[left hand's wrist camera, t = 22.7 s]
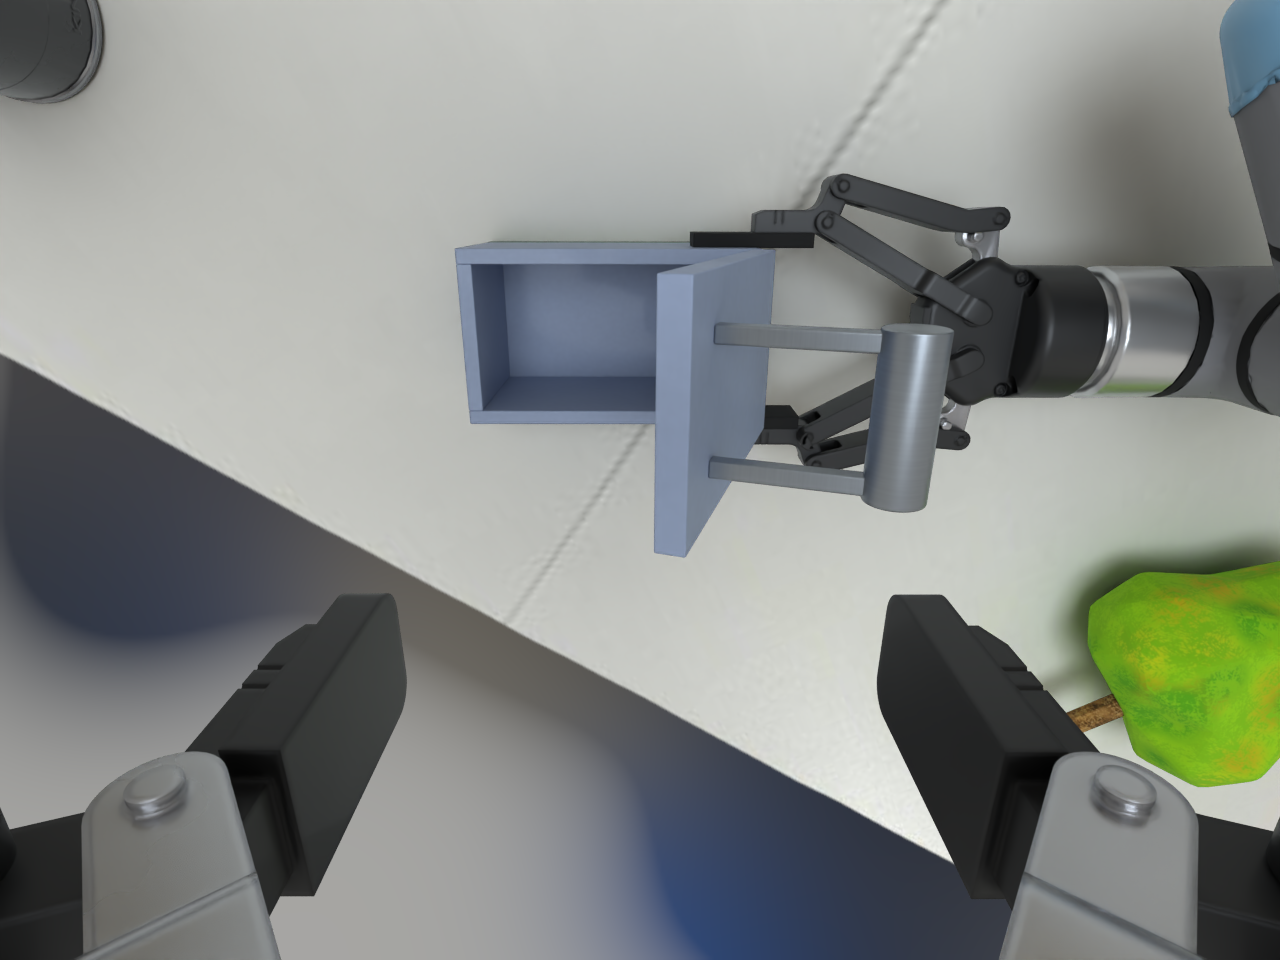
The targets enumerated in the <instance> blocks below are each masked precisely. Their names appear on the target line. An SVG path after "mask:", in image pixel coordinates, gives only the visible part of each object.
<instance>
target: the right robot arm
mask: <svg viewBox="0 0 1280 960" xmlns="http://www.w3.org/2000/svg"><path fill="white" fill-rule="evenodd" d="M1220 42H1221V48H1222V55H1223V62H1224V69H1225V76H1226V83H1227V89H1228V96H1229V103H1230V105H1229V107H1228V108H1229V113H1230V115H1231V117H1234V119H1235V123H1236V127H1237V130H1238V134H1239V138H1240V141H1241V145H1242V149H1243V152H1244V156H1245V160H1246V163H1247V167H1248V171H1249V175H1250V178H1251V182H1252V186H1253V189H1254V193H1255V197H1256V200H1257V204H1258V208H1259V211H1260V215H1261V219H1262V222H1263V226H1264V230H1265V233H1266V237H1267V241H1268V245H1269V249H1270V254H1271V259H1272V263H1273V266H1227V267H1173V266H1090V267H1088V268H1084V267H1081V266H1038V265H1009V264H1007V263H1005V262H1004V261H1002V260H1001V259H999V258H997V257H998V246H999V234H1000V230H1002V229H1004V228H1005V227H1006V226H1007V225H1008V224H1009V222H1010V218H1011V217H1010V212H1009V210H1008V209H1006V208H1005V207H977V208H966V209H964V208H960V207H957V206H954V205H950V204H947V203H944V202H940V201H937V200H934V199H930V198H927V197H923V196H920V195H917V194H913V193H910V192H907V191H903V190H900V189H896V188H893V187H890V186H886V185H883V184H880V183H876V182H873V181H870V180H866V179H863V178H859V177H856V176H853V175H849V174H839V175H834V176H830V177H827V178H826V179H825V180H824V181H823V183H822V185H821V192H820V194H819V197H818V199H817V201H816V203H815V204H814V205H813V206H812V207H811V208H810V209H807V210H760V211H758V212H756V213H753V214H752V221H751V232H690V246H692V247H697V248H813V247H814V236H815V234H816V235H818V236H819V237H821V238H822V239H824V240H826V241H827V242H829V243H831V244H832V245H834V246H836V247H837V248H839V249H841V250H842V251H844V252H846V253H847V254H849V255H851V256H852V257H854V258H855V259H857V260H859V261H860V262H862V263H864V264H865V265H867V266H869V267H870V268H872V269H874V270H875V271H877V272H879V273H880V274H882V275H884V276H885V277H887V278H888V279H890V280H892V281H893V282H895V283H897V284H898V285H899V286H900V287H902V288H903V289H905V290H907V291H908V292H910V293H912V294H913V295H915V296H917V297H918V298H917V300H916V302H915V303H912V304H911V312H910V322H911V324H928V325H936V326H943V327H947V328H950V329H952V330H954V336H953V343H952V349H951V355H950V361H949V368H948V374H947V380H946V386H945V393H944V395H945V396H946V397H947V398H948V399H949V401H948V403H947V405H946V406H945V407H943V408H942V411H941V418H940V424H939V430H938V436H937V443H936V448H939V449H950V450H962V449H965V448H966V447H967V446H968V445H969V443H970V436H969V434H968V433H967V432H965V431H964V430H965V426H966V422H967V418H968V415H969V411H970V407H971V405H974V404H977V403H979V402H981V401H983V400H985V399H988V398H994V397H1002V398H1060V397H1065V396H1068V395H1070V396H1072V397H1076V398H1115V397H1186V398H1212V399H1220V400H1225V401H1230V402H1233V403H1236V404H1239V405H1243V406H1246V407H1249V408H1252V409H1255V410H1258V411H1261V412H1264V413H1267V414H1271V415H1276V416H1279V417H1280V0H1235V1H1234V2H1233V4H1232V5H1231V6H1230V7H1229V9H1228V10H1227V12H1226V14H1225V15H1224V18H1223V20H1222V23H1221V27H1220ZM845 204H848V205H851V206H854V207H858V208H861V209H865V210H868V211H871V212H875V213H878V214H882V215H885V216H889V217H892V218H895V219H899V220H902V221H906V222H909V223H913V224H916V225H919V226H923V227H926V228H930V229H933V230H937V231H944V232H955V241H956V243H957V244H958V245H959V246H962V247H967V248H968V249H970V250H971V252H972V257H973V258H972V259H970V260H969V261H967V262H966V263H964V264H963V265H961V266H960V267H958V268H957V269H955V270H954V271H952V272H951V273H949V274H948V275H946V276H945V277H941V276H940V275H938V274H936V273H935V272H932V271H930V270H928V269H926V268H924V267H923V266H921V265H920V264H918V263H916V262H915V261H913V260H911V259H910V258H908V257H907V256H905V255H903V254H902V253H900V252H898V251H897V250H895V249H894V248H892V247H890V246H889V245H887V244H885V243H884V242H882V241H881V240H879V239H877V238H876V237H874V236H873V235H871V234H869V233H868V232H866V231H864V230H863V229H861V228H860V227H858V226H856V225H855V224H853V223H851V222H850V221H848V220H847V219H845V218H843V217H842V216H840V214H841V212H842V210H843V208H844V205H845ZM874 382H875V379H873V380H871V381H869V382H867V383H865V384H863V385H861V386H859V387H857V388H855V389H853V390H851V391H849V392H847V393H845V394H843V395H840V396H838V397H836V398H834V399H832V400H830V401H828V402H826V403H824V404H822V405H820V406H818V407H816V408H814V409H812V410H810V411H808V412H806V413H804V414H802V415H800V416H798V415H797V414H796V413H795V411H794V410H793V409H792V408H791V406H790V405H765V416H764V428H763V430H762V432H761V433H760V435H759V437H758V438H757V440H756V442H755V443H754V444H790V445H794V446H796V448H797V451H798V457H799V459H800V460H801V462H802V464H803V465H804V466H812V467H821V468H831V469H843V468H848V467H852V466H856V465H860V464H864V463H865V455H866V447H867V439H868V431H869V429H867V430H863V431H858V432H854V433H850V434H846V435H842V436H838V437H834V438H830V439H827V438H829V437H831V436H833V435H835V434H837V433H839V432H841V431H843V430H845V429H847V428H849V427H852V426H854V425H856V424H858V423H860V422H862V421H864V420H866V419H868V418H870V415H871V407H872V398H873V390H874ZM825 439H826V440H825Z"/></svg>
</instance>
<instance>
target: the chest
mask: <svg viewBox="0 0 1280 960" xmlns="http://www.w3.org/2000/svg"><path fill="white" fill-rule="evenodd" d="M754 249H760V248H697V247H692V246H690V242H521V241H491V242H488V243H482V244H477V245H471V246H466V247H460V248H456V249H455V256H456V264H457V265H456V267H457V279H458V290H459V301H460V313H461V324H462V336H463V347H464V358H465V370H466V381H467V392H468V404H469V410H470V412H469V413H470V423H471V424H655V409H656V308H657V274H658V273H661V272H665V271H669V270H673V269H677V268H681V267H685V266H689V265H693V264H697V263H701V262H705V261H709V260H713V259H717V258H721V257H725V256H729V255H733V254H737V253H742V252H746V251H750V250H754ZM761 250H762V249H761Z"/></svg>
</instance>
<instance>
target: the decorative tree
mask: <svg viewBox="0 0 1280 960" xmlns="http://www.w3.org/2000/svg"><path fill="white" fill-rule="evenodd" d="M1088 647H1089V650H1090V653H1091V656H1092V658H1093V660H1094V662H1095V663H1096V665H1097V667H1098V669H1099V670H1100V672H1101V674H1102V675H1103V677H1104V679H1105V681H1106V682H1107V684H1108V686H1109V688H1110V690H1111V692H1112V694H1110V695H1108V696H1106V697H1103V698H1101V699H1098V700H1096V701H1094V702H1091V703H1089V704H1086V705H1084V706H1082V707H1079V708H1077V709H1074V710H1072V711H1070V712H1067V714H1068V716H1069V717H1070V718H1071V719H1072V720H1073V722H1074V723H1075V724H1076V725H1077V726H1078V727H1079V729H1080V730H1081V731H1082V732H1085V731H1088V730H1090V729H1093V728H1095V727H1098V726H1100V725H1103V724H1105V723H1108V722H1110V721H1112V720H1115V719H1117V718H1120V717H1123V720H1124V723H1125V726H1126V729H1127V732H1128V735H1129V739H1130V742H1131V745H1132V748H1133V750H1134V752H1135V753H1136V755H1137V756H1139V757H1141V758H1142V759H1144V760H1145V761H1147V762H1149V763H1151V764H1153V765H1155V766H1156V767H1158V768H1160V769H1162V770H1164V771H1166V772H1168V773H1170V774H1172V775H1174V776H1176V777H1178V778H1180V779H1182V780H1184V781H1185V782H1187V783H1189V784H1192V785H1194V786H1197V787H1213V786H1221V785H1229V784H1237V783H1244V782H1251V781H1255V780H1257V779H1259V778H1261V777H1262V776H1263V775H1264V774H1265V773H1266V772H1267V771H1268V770H1269V769H1270V768H1271V767H1272V766H1273V765H1274V763H1275V762H1276V761H1277V760H1278V759H1279V758H1280V561H1277V562H1272V563H1267V564H1261V565H1256V566H1251V567H1246V568H1241V569H1236V570H1231V571H1226V572H1221V573H1215V574H1206V575H1202V574H1182V573H1162V572H1143V573H1139V574H1137V575H1135V576H1133V577H1132V578H1130V579H1129V580H1127V581H1125V582H1124V583H1122V584H1121V585H1119V586H1117V587H1116V588H1115V589H1113V590H1112V591H1110V592H1109V593H1107V594H1106V595H1104V596H1103V597H1101V598H1100V599H1098V600H1097V601H1095V602H1094V603H1093V604H1092V605H1091V606H1090V610H1089V617H1088Z"/></svg>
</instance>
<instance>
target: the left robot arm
mask: <svg viewBox="0 0 1280 960" xmlns="http://www.w3.org/2000/svg"><path fill="white" fill-rule="evenodd" d="M101 48H102V25H101V19H100V14H99V10H98V6H97V3H96V0H0V95H4V96H7V97H10V98H13V99H16V100H21V101H27V102H32V103H53V102H58V101H62V100H65V99H67V98H70V97H71V96H73V95H75V94H76V93H78V92H79V91H80V90H81V89H82V88H83V87H84V86H85V85H86V84H87V83H88V82H89V80H90V79H91V78H92V76H93V74H94V72H95V70H96V68H97V65H98V62H99V59H100V54H101ZM406 686H407V677H406V669H405V661H404V654H403V647H402V640H401V633H400V626H399V619H398V612H397V606H396V602H395V600H394V597H393V596H392V595H391V594H387V593H381V594H379V593H377V594H376V593H374V594H373V593H365V594H364V593H362V594H361V593H359V594H357V593H344V594H341V595H340V596H339V597H338V598H337V599H336V600H335V601H334V603H333V604H332V605H331V607H330V608H329V609H328V610H327V612H326V613H325V614H324V615H323V617H322V618H321V619H320V621H319V622H318V623H317V624H306V625H304V626H303V627H301V628H299V629H298V630H296V631H295V632H293V633H292V634H290V635H289V636H287V637H286V638H284V639H282V640H281V641H279V642H278V643H277V644H276V645H275V646H274V647H273V648H272V649H271V651H270V652H269V653H268V654H267V655H266V656H265V658H264V659H263V660H262V661H261V662H260V663H259V665H258V669H257V670H254V671H253V672H252V673H251V674H250V675H249V677H248V678H247V679H246V680H245V681H244V682H243V684H242V689H238V690H237V691H236V692H235V693H234V694H233V695H232V697H231V698H230V699H229V700H228V701H227V702H226V704H225V705H224V706H223V707H222V708H221V710H220V711H219V712H218V713H217V714H216V715H215V717H214V718H213V719H212V720H211V721H210V723H209V724H208V725H207V726H206V727H205V728H204V730H203V731H202V732H201V733H200V734H199V736H198V737H197V738H196V739H195V740H194V741H193V743H192V744H191V745H190V746H189V747H188V749H187V750H186V751H185V752H182V753H175V754H171V755H167V756H163V757H160V758H157V759H154V760H151V761H149V762H146V763H144V764H142V765H140V766H138V767H136V768H134V769H132V770H130V771H128V772H126V773H125V774H123V775H122V776H120V777H118V778H117V779H116V780H114V781H113V782H111V783H110V784H109V785H108V786H106V787H105V788H104V789H103V790H102V791H101V792H100V793H99V794H98V795H97V796H96V797H95V798H94V799H93V800H92V802H91V803H90V805H89V806H88V808H87V809H86V811H85V812H84V813H80V814H76V815H71V816H67V817H63V818H58V819H54V820H49V821H45V822H41V823H37V824H32V825H28V826H23V827H19V828H15V829H10V830H9V827H8V825H7V823H6V820H5V818H4V816H3V813H2V811H1V809H0V960H281V957H280V954H279V950H278V947H277V943H276V940H275V936H274V932H273V929H272V925H271V922H270V918H269V916H270V915H271V913H272V911H273V909H274V907H275V905H276V903H277V901H278V899H279V897H280V896H314V895H315V893H316V891H317V889H318V887H319V885H320V883H321V881H322V879H323V876H324V874H325V872H326V870H327V868H328V866H329V864H330V862H331V860H332V858H333V855H334V853H335V851H336V849H337V847H338V845H339V843H340V841H341V839H342V837H343V835H344V833H345V830H346V828H347V826H348V824H349V822H350V820H351V818H352V816H353V814H354V812H355V809H356V807H357V805H358V803H359V801H360V799H361V797H362V795H363V793H364V791H365V789H366V786H367V784H368V782H369V780H370V778H371V776H372V774H373V772H374V770H375V768H376V766H377V763H378V761H379V759H380V757H381V755H382V753H383V751H384V749H385V747H386V745H387V742H388V740H389V738H390V736H391V734H392V732H393V730H394V728H395V726H396V724H397V722H398V719H399V717H400V715H401V713H402V710H403V706H404V702H405V697H406ZM877 694H878V701H879V705H880V709H881V712H882V715H883V717H884V720H885V722H886V724H887V726H888V728H889V730H890V732H891V734H892V736H893V738H894V740H895V742H896V744H897V746H898V749H899V751H900V753H901V755H902V757H903V759H904V761H905V763H906V765H907V767H908V769H909V771H910V773H911V775H912V777H913V780H914V782H915V784H916V786H917V788H918V790H919V792H920V794H921V796H922V798H923V800H924V802H925V804H926V806H927V808H928V811H929V813H930V815H931V817H932V819H933V821H934V823H935V825H936V827H937V829H938V831H939V833H940V835H941V837H942V840H943V842H944V844H945V846H946V848H947V850H948V852H949V854H950V856H951V858H952V860H953V862H954V864H955V866H956V868H957V870H958V872H959V875H960V877H961V879H962V881H963V883H964V885H965V887H966V889H967V891H968V893H969V895H970V897H971V899H1006V901H1007V903H1008V905H1009V906H1010V908H1011V910H1012V915H1011V918H1010V922H1009V925H1008V929H1007V932H1006V936H1005V939H1004V943H1003V947H1002V950H1001V954H1000V957H999V960H1280V818H1279V820H1278V822H1277V825H1276V827H1275V829H1274V831H1269V830H1265V829H1261V828H1256V827H1252V826H1247V825H1243V824H1239V823H1234V822H1230V821H1226V820H1221V819H1217V818H1213V817H1208V816H1204V815H1200V814H1197V813H1195V811H1194V809H1193V808H1192V806H1191V805H1190V803H1189V802H1188V800H1187V799H1186V798H1185V797H1184V796H1183V795H1182V794H1181V793H1180V792H1179V791H1178V790H1177V789H1176V788H1175V787H1174V786H1173V785H1171V784H1170V783H1169V782H1167V781H1166V780H1164V779H1163V778H1162V777H1160V776H1158V775H1157V774H1155V773H1154V772H1152V771H1150V770H1148V769H1146V768H1144V767H1142V766H1140V765H1138V764H1136V763H1134V762H1131V761H1129V760H1126V759H1123V758H1120V757H1117V756H1113V755H1109V754H1105V753H1100V752H1099V751H1098V750H1097V748H1096V747H1095V746H1094V745H1093V744H1092V743H1091V741H1090V740H1089V739H1088V738H1087V737H1086V736H1085V734H1084V733H1083V732H1082V731H1081V730H1080V729H1079V727H1078V726H1077V725H1076V724H1075V723H1074V722H1073V720H1072V719H1071V718H1070V717H1069V716H1068V714H1067V713H1066V712H1065V711H1064V710H1063V709H1062V707H1061V706H1060V705H1059V704H1058V703H1057V702H1056V700H1055V699H1054V698H1053V697H1052V696H1051V695H1050V693H1049V692H1048V691H1044V690H1043V685H1042V684H1041V683H1040V682H1039V681H1038V679H1037V678H1036V677H1035V676H1034V675H1033V674H1032V672H1031V671H1027V666H1026V665H1025V664H1024V663H1023V662H1022V661H1021V659H1020V658H1019V657H1018V656H1017V655H1016V654H1015V652H1014V651H1013V650H1012V649H1011V648H1010V647H1009V645H1008V644H1006V643H1004V642H1003V641H1001V640H1000V639H998V638H997V637H995V636H994V635H992V634H991V633H989V632H987V631H986V630H984V629H983V628H981V627H980V626H968V625H967V624H966V623H965V621H964V620H963V619H962V618H961V616H960V615H959V614H958V613H957V611H956V610H955V609H954V608H953V606H952V605H951V604H950V603H949V601H948V600H947V599H946V598H945V597H944V596H942V595H893V596H892V597H891V598H890V600H889V603H888V606H887V612H886V619H885V625H884V632H883V639H882V646H881V653H880V660H879V667H878V674H877Z"/></svg>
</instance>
